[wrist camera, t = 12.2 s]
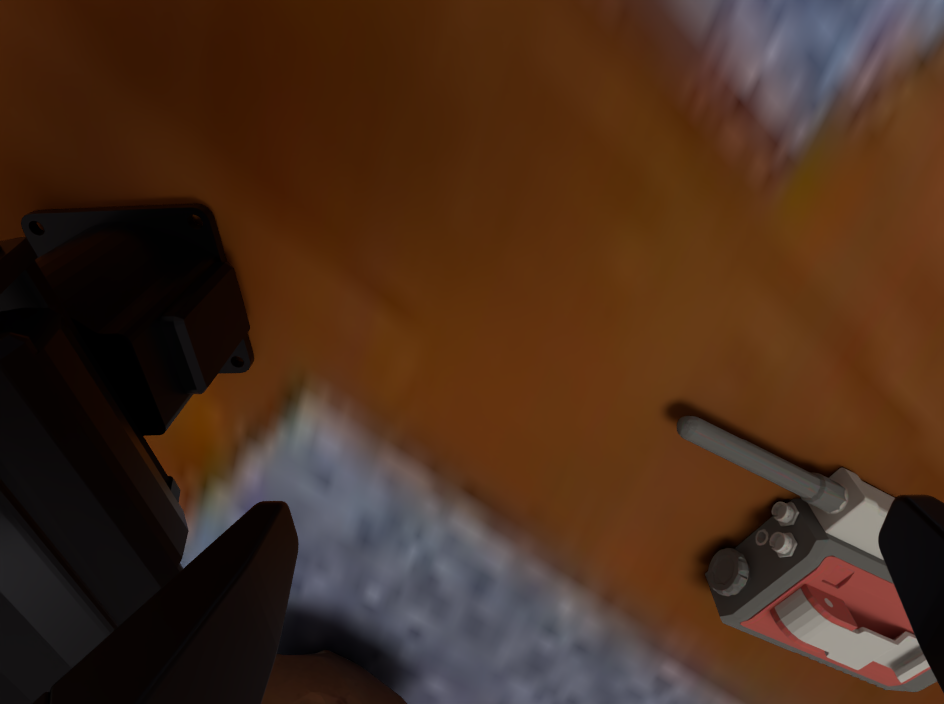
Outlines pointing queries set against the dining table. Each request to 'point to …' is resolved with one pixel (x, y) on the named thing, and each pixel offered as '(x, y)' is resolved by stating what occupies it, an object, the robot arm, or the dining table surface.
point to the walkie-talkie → (815, 570)
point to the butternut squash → (324, 682)
